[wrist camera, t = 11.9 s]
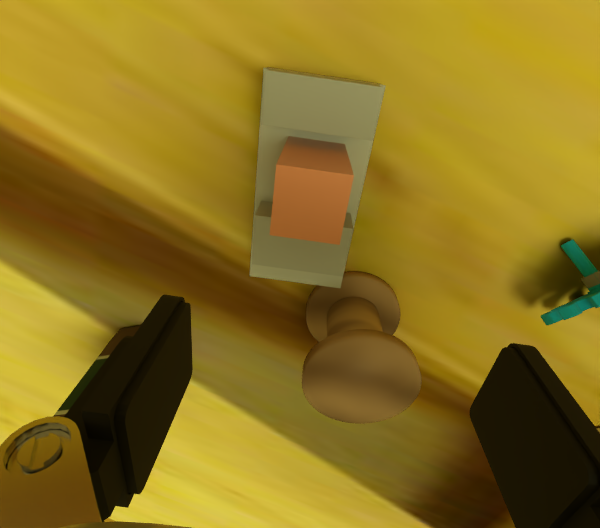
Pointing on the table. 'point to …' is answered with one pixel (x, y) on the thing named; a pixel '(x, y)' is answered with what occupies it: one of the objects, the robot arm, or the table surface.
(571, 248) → the teal lobed piece
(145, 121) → the table surface
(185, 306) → the robot arm
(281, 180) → the orange rectangular block
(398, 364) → the bobbin
